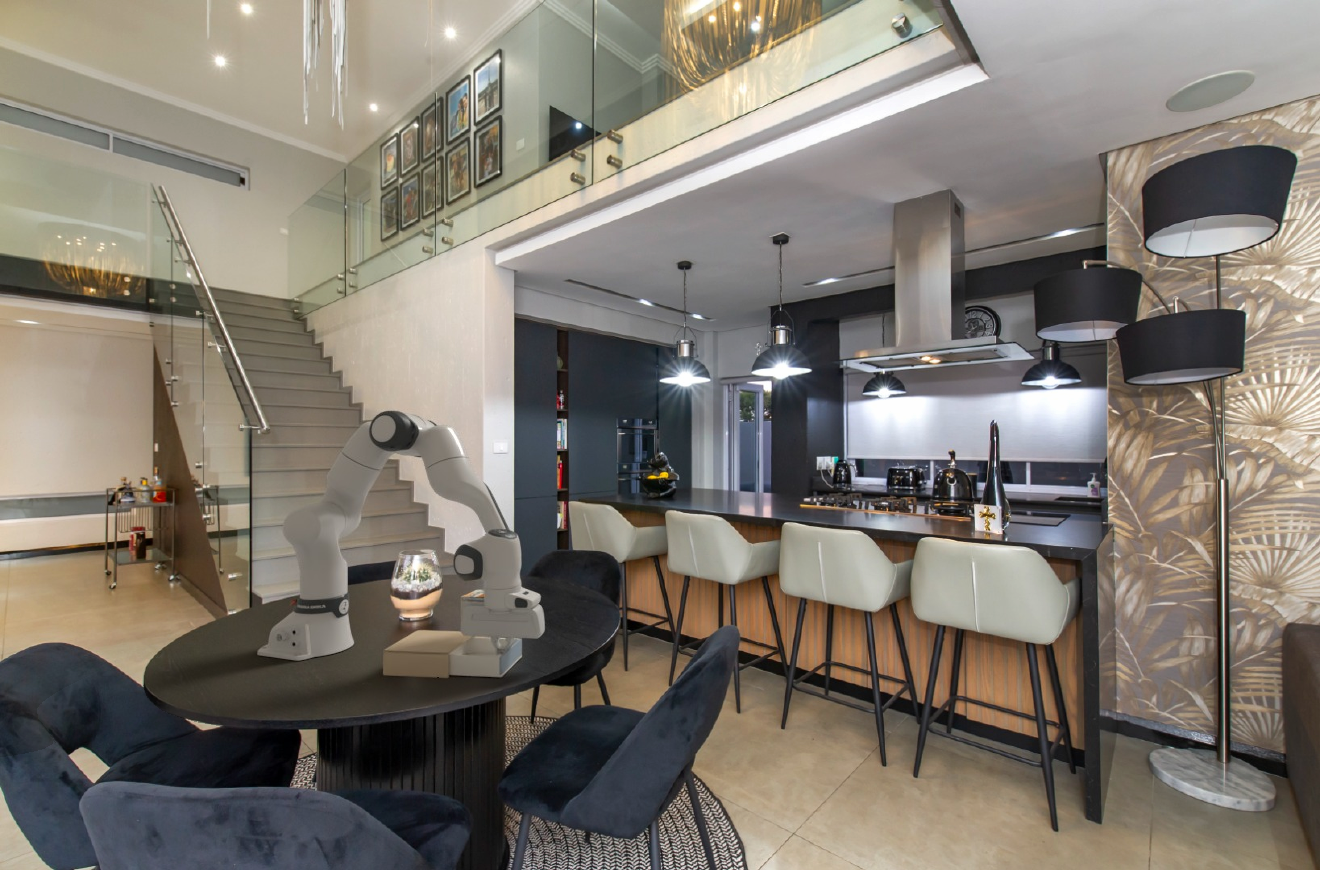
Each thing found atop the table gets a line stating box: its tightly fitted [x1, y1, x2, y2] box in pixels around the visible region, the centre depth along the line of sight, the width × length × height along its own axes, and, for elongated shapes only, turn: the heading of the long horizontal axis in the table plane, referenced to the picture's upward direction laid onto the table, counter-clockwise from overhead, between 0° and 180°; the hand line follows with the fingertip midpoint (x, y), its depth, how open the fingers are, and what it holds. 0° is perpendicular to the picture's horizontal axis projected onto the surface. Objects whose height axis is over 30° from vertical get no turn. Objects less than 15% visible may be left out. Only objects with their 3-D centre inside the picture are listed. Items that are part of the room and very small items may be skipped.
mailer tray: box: [449, 637, 523, 678], centre depth 139 cm, size 15×13×4 cm
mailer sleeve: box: [382, 629, 476, 679], centre depth 140 cm, size 16×15×6 cm
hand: (502, 654), depth 138 cm, fingers closed
